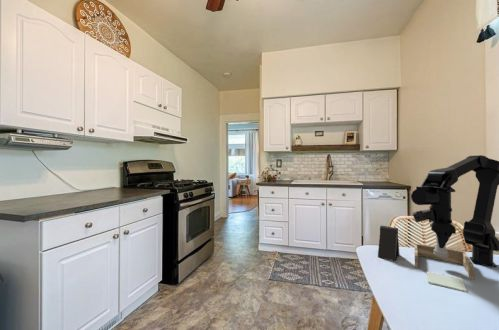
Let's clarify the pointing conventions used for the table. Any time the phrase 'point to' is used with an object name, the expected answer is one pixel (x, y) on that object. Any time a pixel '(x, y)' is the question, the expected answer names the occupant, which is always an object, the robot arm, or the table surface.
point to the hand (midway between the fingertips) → (440, 246)
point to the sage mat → (446, 281)
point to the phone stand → (388, 243)
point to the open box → (453, 257)
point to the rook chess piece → (440, 250)
